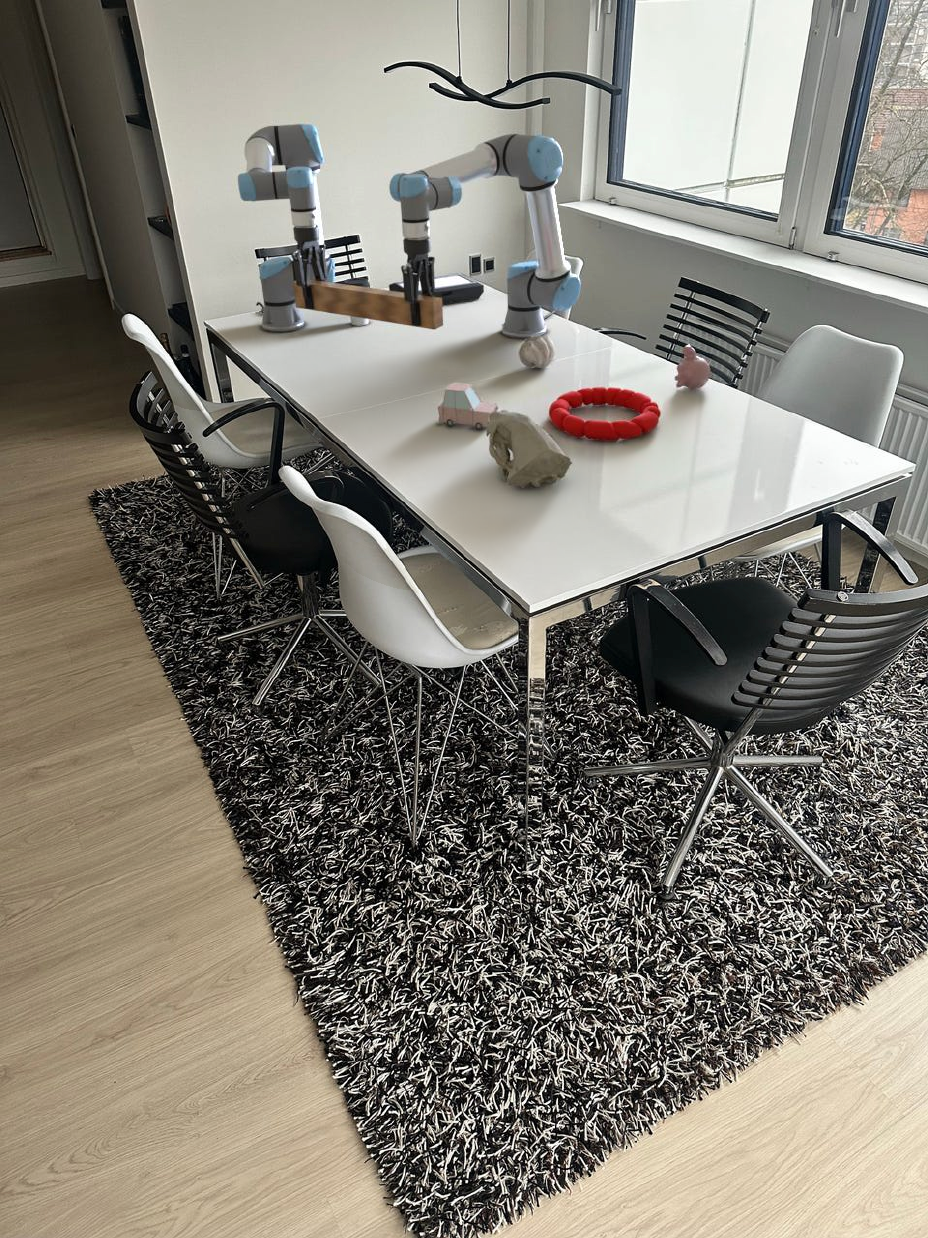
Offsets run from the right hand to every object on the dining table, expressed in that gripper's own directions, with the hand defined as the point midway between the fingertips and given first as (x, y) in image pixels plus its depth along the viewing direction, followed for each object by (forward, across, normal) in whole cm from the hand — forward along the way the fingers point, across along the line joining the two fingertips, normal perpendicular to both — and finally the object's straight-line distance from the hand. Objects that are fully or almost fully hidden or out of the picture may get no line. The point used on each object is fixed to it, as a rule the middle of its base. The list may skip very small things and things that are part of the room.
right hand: (421, 322), depth 259 cm
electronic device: (+20, +84, +51) cm, 100 cm away
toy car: (+20, -18, -26) cm, 37 cm away
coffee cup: (+20, +44, +59) cm, 76 cm away
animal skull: (+20, -37, -54) cm, 68 cm away
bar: (+1, 0, +20) cm, 20 cm away
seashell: (+20, +32, -22) cm, 43 cm away
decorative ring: (+20, 0, -59) cm, 62 cm away
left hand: (0, 0, +40) cm, 40 cm away
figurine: (+20, +36, -70) cm, 81 cm away
